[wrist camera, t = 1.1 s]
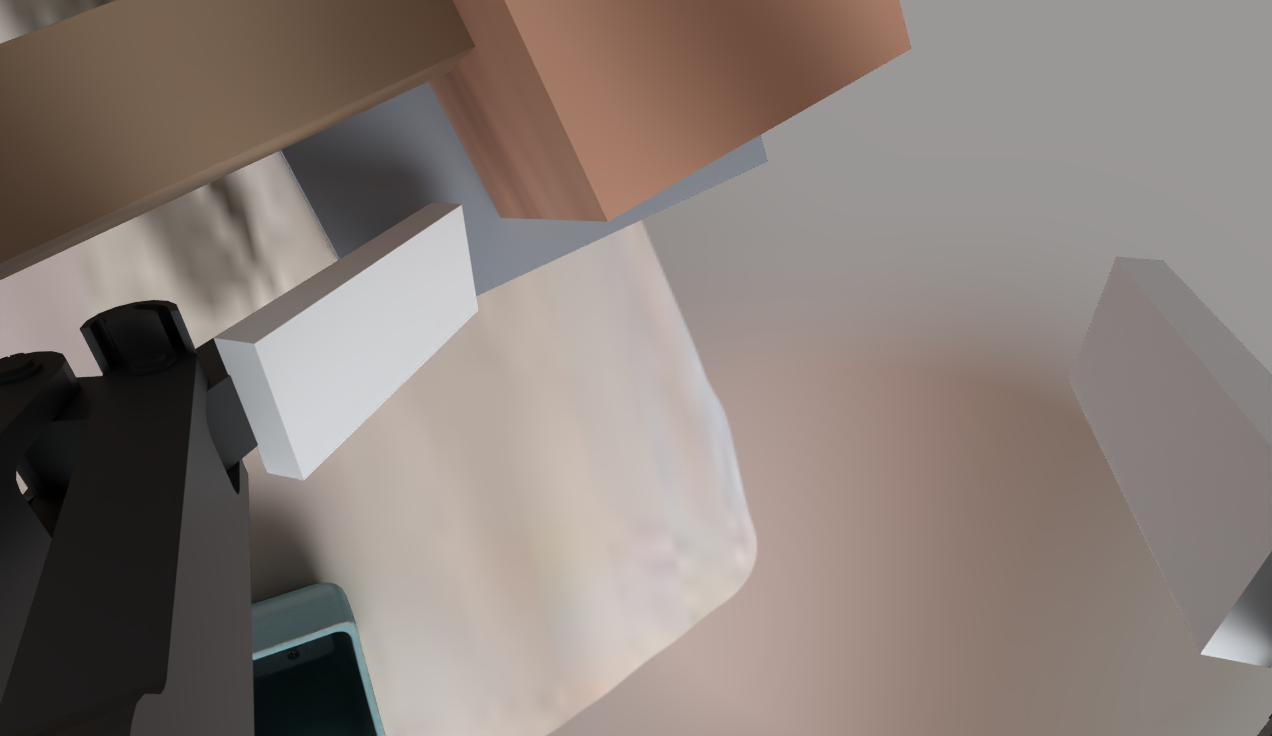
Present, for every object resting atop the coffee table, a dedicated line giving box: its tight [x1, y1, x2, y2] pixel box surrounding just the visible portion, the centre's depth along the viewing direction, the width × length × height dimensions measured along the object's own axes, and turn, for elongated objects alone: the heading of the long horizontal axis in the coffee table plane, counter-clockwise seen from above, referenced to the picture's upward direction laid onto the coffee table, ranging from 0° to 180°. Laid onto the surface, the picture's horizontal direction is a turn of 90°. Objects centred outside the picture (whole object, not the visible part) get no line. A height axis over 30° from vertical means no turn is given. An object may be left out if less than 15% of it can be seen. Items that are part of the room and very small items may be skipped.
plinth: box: [280, 82, 768, 296], centre depth 28 cm, size 12×12×26 cm
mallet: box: [0, 0, 911, 280], centre depth 11 cm, size 23×9×7 cm, turn 117°
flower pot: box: [251, 583, 386, 736], centre depth 39 cm, size 9×9×9 cm
